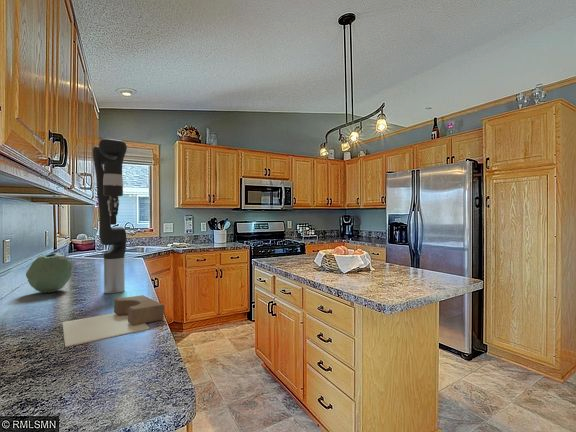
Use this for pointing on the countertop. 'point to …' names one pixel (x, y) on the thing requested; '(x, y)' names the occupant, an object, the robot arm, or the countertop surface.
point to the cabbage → (49, 272)
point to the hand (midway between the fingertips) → (113, 224)
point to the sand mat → (98, 328)
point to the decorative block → (139, 309)
